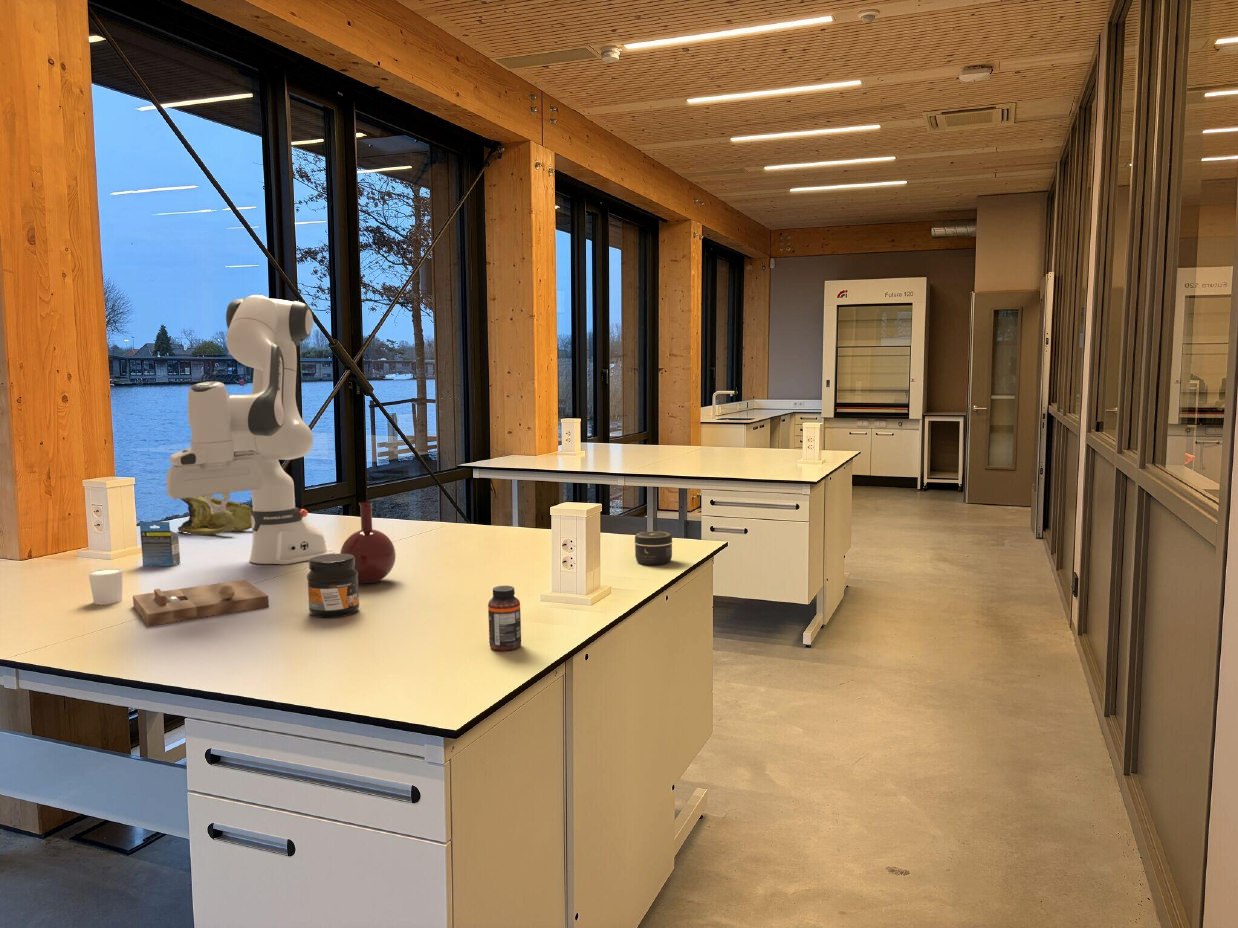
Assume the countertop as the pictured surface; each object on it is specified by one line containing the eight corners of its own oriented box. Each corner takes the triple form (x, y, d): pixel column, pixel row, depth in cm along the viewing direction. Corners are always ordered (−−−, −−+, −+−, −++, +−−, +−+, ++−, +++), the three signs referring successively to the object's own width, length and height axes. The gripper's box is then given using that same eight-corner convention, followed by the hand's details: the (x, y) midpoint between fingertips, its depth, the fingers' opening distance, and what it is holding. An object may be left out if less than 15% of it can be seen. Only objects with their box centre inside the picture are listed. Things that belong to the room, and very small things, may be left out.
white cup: (132, 598, 208) (129, 569, 207) (106, 606, 202) (104, 575, 201) (109, 596, 210) (107, 567, 210) (83, 604, 204) (81, 573, 203)
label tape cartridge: (181, 563, 246) (178, 519, 245) (172, 566, 242) (169, 521, 241) (150, 563, 247) (147, 519, 246) (141, 566, 243) (138, 521, 242)
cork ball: (233, 596, 198) (232, 582, 198) (236, 599, 196) (235, 585, 195) (217, 598, 196) (216, 584, 196) (221, 601, 194) (220, 587, 193)
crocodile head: (153, 521, 288) (175, 483, 297) (189, 549, 300) (209, 512, 309) (217, 516, 278) (237, 477, 287) (251, 545, 290) (270, 507, 299)
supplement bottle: (490, 642, 170) (488, 584, 169) (521, 641, 171) (520, 583, 169) (488, 652, 164) (486, 592, 163) (521, 651, 165) (519, 591, 163)
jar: (629, 565, 236) (629, 536, 235) (642, 557, 245) (642, 530, 244) (665, 567, 232) (665, 538, 231) (677, 559, 241) (677, 531, 241)
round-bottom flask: (407, 579, 224) (404, 499, 222) (372, 591, 212) (368, 507, 210) (366, 574, 229) (362, 497, 227) (329, 586, 217) (325, 504, 215)
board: (245, 589, 215) (244, 571, 215) (268, 606, 199) (267, 586, 199) (133, 606, 201) (132, 586, 201) (148, 626, 185) (146, 604, 184)
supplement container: (331, 621, 186) (328, 564, 185) (298, 614, 192) (295, 559, 191) (370, 609, 195) (367, 555, 194) (337, 603, 201) (334, 551, 200)
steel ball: (173, 592, 198) (160, 601, 196) (176, 594, 195) (163, 604, 194) (182, 602, 199) (169, 612, 198) (185, 605, 197) (172, 615, 195)
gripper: (256, 448, 213) (261, 505, 215) (161, 456, 201) (168, 517, 203) (264, 450, 208) (269, 508, 210) (167, 459, 196) (173, 521, 198)
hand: (218, 513), depth 206 cm, fingers closed
